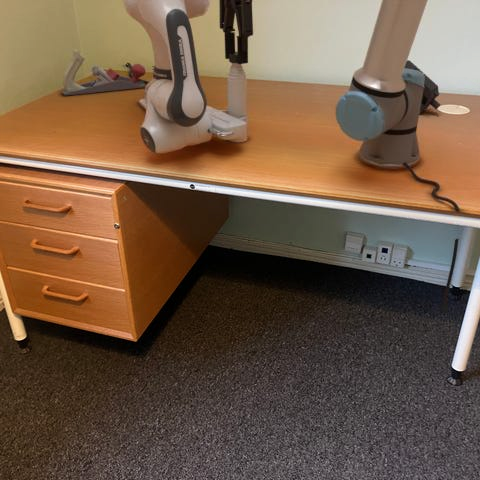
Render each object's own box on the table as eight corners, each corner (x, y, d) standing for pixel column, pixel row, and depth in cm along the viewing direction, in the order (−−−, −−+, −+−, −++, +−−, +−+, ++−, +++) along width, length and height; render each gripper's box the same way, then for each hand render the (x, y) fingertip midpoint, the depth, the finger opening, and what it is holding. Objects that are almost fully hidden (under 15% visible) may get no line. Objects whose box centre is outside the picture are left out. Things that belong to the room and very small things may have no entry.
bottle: (245, 134, 156) (244, 52, 143) (249, 141, 151) (248, 57, 139) (227, 136, 155) (224, 53, 143) (230, 143, 150) (228, 58, 138)
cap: (237, 64, 139) (237, 55, 138) (226, 61, 141) (225, 53, 140) (246, 61, 142) (246, 52, 141) (235, 59, 144) (235, 50, 143)
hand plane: (62, 90, 197) (53, 48, 189) (145, 82, 205) (140, 41, 197) (62, 96, 191) (54, 53, 184) (148, 87, 199) (143, 45, 191)
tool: (378, 91, 179) (405, 54, 169) (421, 128, 175) (451, 93, 164) (370, 95, 176) (396, 58, 165) (413, 134, 171) (443, 98, 161)
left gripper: (220, 125, 134) (263, 114, 141) (178, 105, 148) (219, 96, 155) (221, 149, 138) (263, 136, 145) (180, 127, 152) (220, 117, 159)
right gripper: (268, -35, 124) (267, 66, 136) (229, -41, 138) (231, 52, 150) (240, -33, 121) (241, 70, 133) (203, -39, 135) (207, 55, 147)
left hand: (240, 115), depth 150 cm, fingers closed on bottle, 5 cm apart
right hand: (236, 60), depth 141 cm, fingers open, 6 cm apart
